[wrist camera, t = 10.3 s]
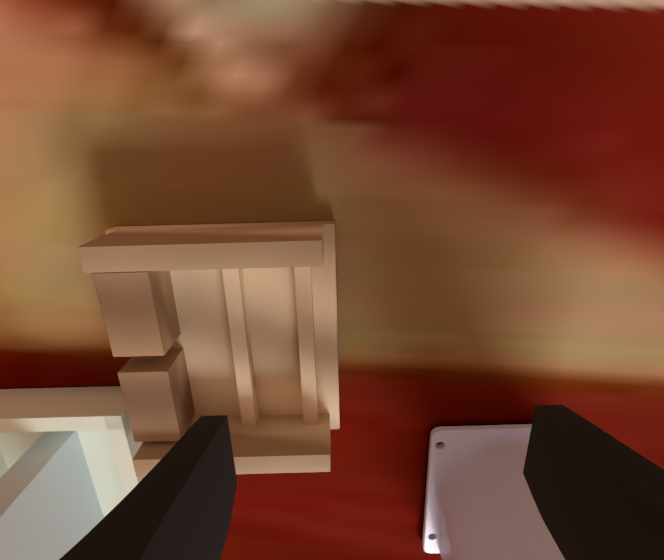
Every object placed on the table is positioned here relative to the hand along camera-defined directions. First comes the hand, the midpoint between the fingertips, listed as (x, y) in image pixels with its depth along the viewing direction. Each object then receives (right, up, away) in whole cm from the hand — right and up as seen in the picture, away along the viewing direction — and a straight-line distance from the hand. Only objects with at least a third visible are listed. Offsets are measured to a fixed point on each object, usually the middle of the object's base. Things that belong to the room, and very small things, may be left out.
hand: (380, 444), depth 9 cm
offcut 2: (-9, -1, +10) cm, 14 cm away
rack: (-6, +1, +10) cm, 12 cm away
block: (-15, -8, +13) cm, 22 cm away
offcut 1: (-10, +3, +9) cm, 13 cm away
